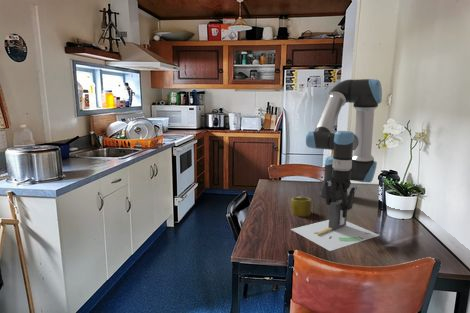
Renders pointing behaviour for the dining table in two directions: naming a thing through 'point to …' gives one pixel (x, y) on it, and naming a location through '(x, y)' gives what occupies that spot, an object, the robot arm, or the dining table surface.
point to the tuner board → (334, 234)
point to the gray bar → (334, 217)
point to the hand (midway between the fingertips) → (337, 222)
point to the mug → (301, 206)
